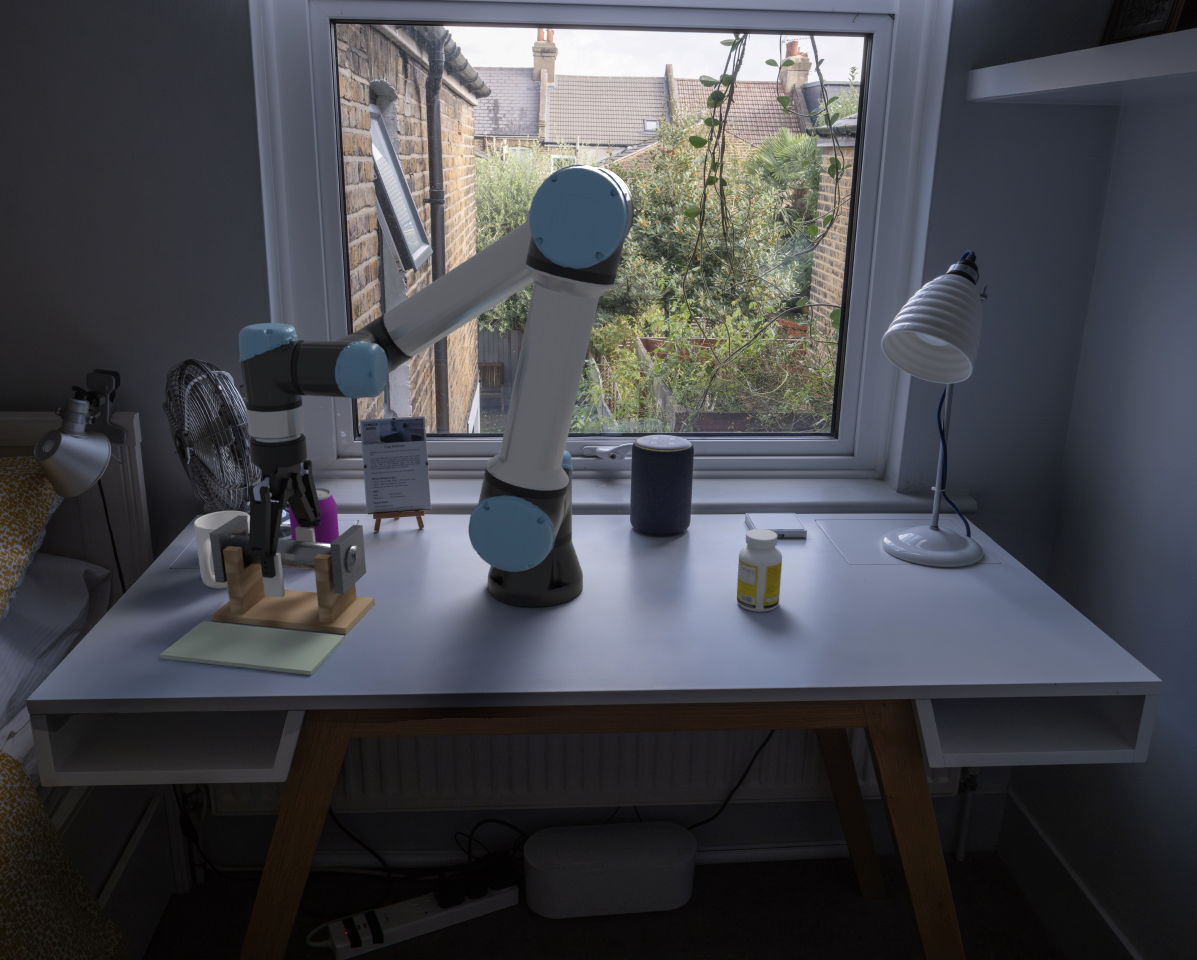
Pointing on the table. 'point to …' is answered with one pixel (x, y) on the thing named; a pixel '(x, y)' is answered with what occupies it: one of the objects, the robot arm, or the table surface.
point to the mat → (254, 647)
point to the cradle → (289, 599)
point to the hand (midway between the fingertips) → (292, 581)
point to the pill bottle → (759, 571)
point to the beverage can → (321, 518)
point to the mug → (202, 531)
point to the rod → (295, 552)
